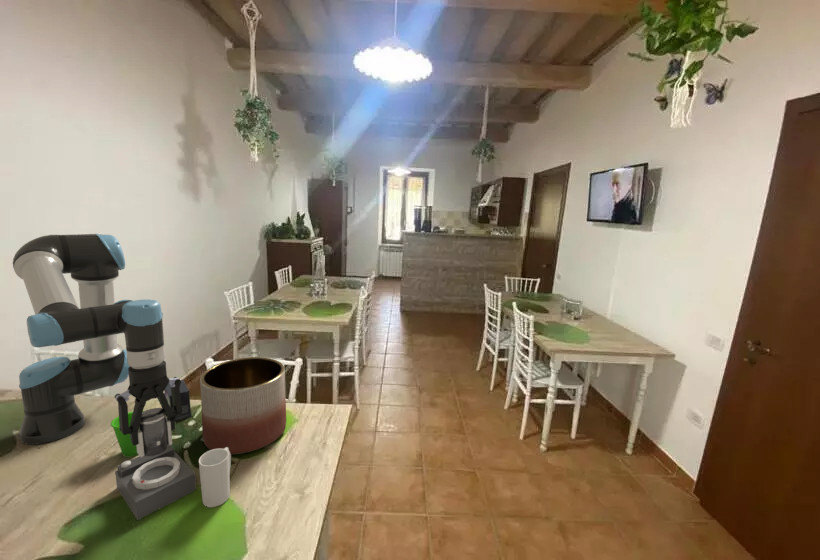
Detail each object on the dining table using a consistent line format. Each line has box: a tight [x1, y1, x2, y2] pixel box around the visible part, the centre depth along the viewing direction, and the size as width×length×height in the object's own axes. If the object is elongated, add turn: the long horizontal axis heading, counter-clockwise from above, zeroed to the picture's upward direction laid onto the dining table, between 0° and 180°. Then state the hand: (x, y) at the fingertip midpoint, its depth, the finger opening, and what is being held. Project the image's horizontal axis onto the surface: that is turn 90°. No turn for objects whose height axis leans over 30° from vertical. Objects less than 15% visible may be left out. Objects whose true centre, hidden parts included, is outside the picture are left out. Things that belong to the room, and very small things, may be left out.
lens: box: [139, 407, 168, 456], centre depth 92 cm, size 6×6×10 cm
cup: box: [110, 410, 145, 458], centre depth 109 cm, size 9×9×11 cm
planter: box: [199, 356, 287, 455], centre depth 120 cm, size 25×25×22 cm
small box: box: [163, 379, 192, 423], centre depth 130 cm, size 11×6×10 cm, turn 43°
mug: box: [198, 447, 232, 508], centre depth 95 cm, size 10×7×12 cm, turn 174°
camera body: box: [114, 445, 197, 521], centre depth 95 cm, size 16×13×7 cm
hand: (155, 448), depth 93 cm, fingers closed on lens, 5 cm apart
